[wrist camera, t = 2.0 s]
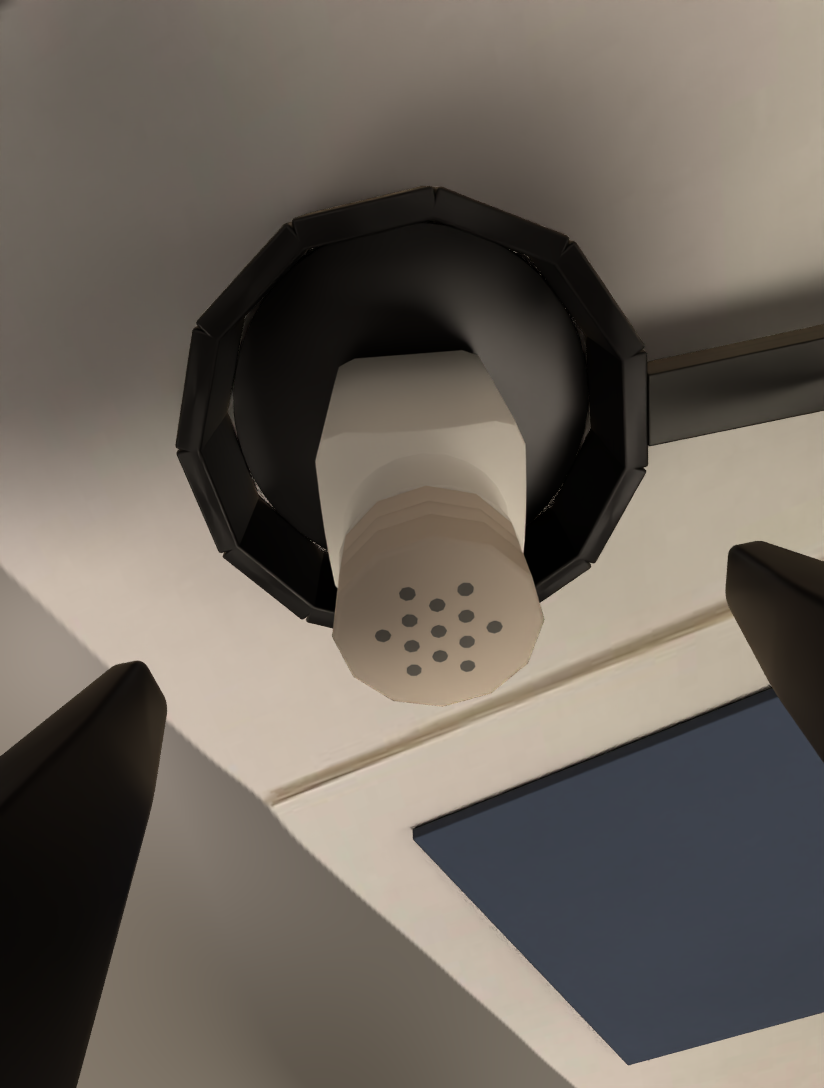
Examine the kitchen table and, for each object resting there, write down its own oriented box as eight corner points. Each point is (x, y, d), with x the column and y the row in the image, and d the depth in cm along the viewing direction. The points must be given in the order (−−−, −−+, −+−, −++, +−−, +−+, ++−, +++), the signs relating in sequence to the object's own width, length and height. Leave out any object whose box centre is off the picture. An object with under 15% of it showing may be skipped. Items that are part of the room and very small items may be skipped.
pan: (283, 610, 21) (269, 671, 18) (143, 252, 15) (93, 266, 12) (901, 490, 19) (981, 538, 17) (1001, 46, 14) (1146, 14, 11)
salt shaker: (482, 343, 16) (581, 501, 8) (483, 479, 18) (563, 716, 10) (333, 354, 16) (282, 525, 8) (350, 490, 18) (324, 735, 10)
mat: (411, 829, 27) (412, 839, 26) (828, 665, 23) (837, 674, 22) (625, 1056, 40) (628, 1065, 39) (916, 976, 36) (922, 985, 35)
